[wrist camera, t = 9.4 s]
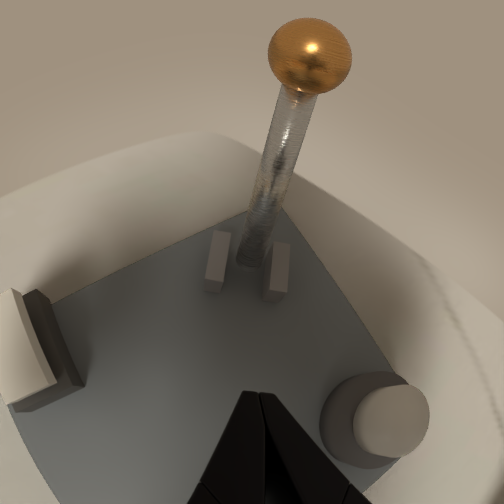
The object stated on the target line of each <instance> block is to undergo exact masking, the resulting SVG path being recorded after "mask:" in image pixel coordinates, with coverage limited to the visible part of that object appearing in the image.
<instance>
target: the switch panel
mask: <svg viewBox="0 0 504 504" xmlns="http://www.w3.org/2000/svg"><path fill="white" fill-rule="evenodd" d="M247 212H248V211H246V212H244V213H241V214H239V215H237V216H235V217H232V218H230V219H228V220H226V221H223V222H221V223H219V224H217V225H215V226H212V227H210V228H208V229H206V230H204V231H201V232H199V233H197V234H195V235H193V236H190V237H188V238H186V239H184V240H182V241H180V242H177V243H175V244H173V245H171V246H169V247H167V248H165V249H163V250H160V251H158V252H156V253H154V254H152V255H150V256H148V257H146V258H144V259H142V260H139V261H137V262H135V263H133V264H131V265H129V266H127V267H125V268H123V269H121V270H119V271H117V272H115V273H113V274H111V275H109V276H107V277H105V278H103V279H101V280H99V281H97V282H95V283H93V284H91V285H89V286H87V287H85V288H83V289H81V290H79V291H77V292H75V293H73V294H71V295H69V296H67V297H65V298H63V299H61V300H59V301H58V302H56V303H54V304H52V305H51V303H50V300H49V299H48V298H47V297H46V296H44V295H43V294H42V293H41V292H40V291H38V290H37V289H35V290H33V291H31V292H29V293H27V294H25V295H24V296H22V298H23V301H24V304H25V307H26V310H27V312H28V315H29V318H30V321H31V323H32V326H33V329H34V331H35V334H36V336H37V339H38V341H39V344H40V346H41V348H42V351H43V353H44V355H45V357H46V360H47V362H48V364H49V366H50V368H51V371H52V373H53V375H54V377H55V379H56V381H57V383H56V384H54V385H52V386H49V387H47V388H45V389H43V390H41V391H39V392H37V393H35V394H33V395H31V396H28V397H26V398H24V399H22V400H20V401H18V402H15V403H11V404H7V406H8V408H9V411H10V413H11V415H12V418H13V420H14V422H15V424H16V427H17V429H18V431H19V433H20V435H21V437H22V439H23V441H24V443H25V445H26V447H27V449H28V451H29V453H30V455H31V457H32V459H33V460H34V462H35V464H36V466H37V468H38V469H39V471H40V473H41V474H42V476H43V478H44V479H45V481H46V483H47V484H48V486H49V487H50V489H51V491H52V492H53V494H54V495H55V497H56V498H57V500H58V501H59V503H60V504H187V502H188V500H189V499H190V497H191V495H192V493H193V491H194V489H195V487H196V485H197V484H198V483H199V480H200V478H201V476H202V474H203V472H204V470H205V468H206V466H207V464H208V462H209V460H210V458H211V456H212V454H213V452H214V450H215V448H216V445H217V443H218V441H219V439H220V437H221V435H222V433H223V431H224V429H225V427H226V424H227V422H228V420H229V418H230V416H231V414H232V412H233V409H234V407H235V405H236V403H237V401H238V399H239V396H240V394H241V392H242V391H243V390H247V391H256V392H257V393H260V392H266V393H273V394H275V395H276V396H277V397H278V399H279V400H280V401H281V402H282V403H283V405H284V406H285V407H286V408H287V410H288V411H289V412H290V413H291V414H292V416H293V417H294V418H295V419H296V420H297V422H298V423H299V424H300V425H301V426H302V428H303V429H304V430H305V431H306V432H307V433H308V435H309V436H310V437H311V438H312V439H313V440H314V442H315V443H316V444H317V445H318V446H319V447H320V449H321V450H322V451H323V452H324V453H325V454H326V455H327V456H328V458H329V459H330V460H331V461H332V462H333V463H334V464H335V465H336V467H337V468H338V469H339V470H340V471H341V472H342V473H343V474H344V475H345V476H346V478H347V479H348V480H349V481H350V483H352V484H353V485H354V486H355V487H356V488H357V489H358V490H359V491H360V492H361V493H363V492H364V491H365V490H366V489H367V488H369V487H370V486H371V485H372V484H373V483H374V482H375V481H376V480H378V479H379V478H380V477H381V476H382V475H383V474H384V473H385V472H386V471H387V470H388V469H389V468H391V467H392V466H393V465H394V464H395V463H396V462H397V461H398V460H399V459H400V458H401V457H398V458H391V457H386V456H381V455H376V454H371V453H368V452H366V451H365V450H363V449H362V448H361V447H360V446H359V445H358V443H357V441H356V439H355V437H354V432H353V420H354V415H355V412H356V410H357V407H358V405H359V404H360V402H361V401H362V400H363V398H364V397H365V396H366V395H368V394H369V393H370V392H372V391H373V390H375V389H378V388H382V387H389V386H397V385H409V384H408V383H407V382H406V381H405V380H404V379H403V378H402V377H400V376H398V375H397V374H395V372H394V371H393V369H392V368H391V366H390V364H389V363H388V361H387V360H386V358H385V356H384V355H383V353H382V352H381V350H380V349H379V347H378V346H377V344H376V342H375V341H374V339H373V338H372V336H371V335H370V333H369V332H368V330H367V329H366V327H365V326H364V324H363V323H362V321H361V320H360V318H359V317H358V315H357V314H356V312H355V311H354V309H353V308H352V306H351V305H350V303H349V302H348V300H347V299H346V297H345V296H344V294H343V293H342V291H341V290H340V288H339V287H338V285H337V284H336V283H335V281H334V280H333V278H332V277H331V275H330V274H329V272H328V271H327V270H326V268H325V267H324V265H323V264H322V262H321V261H320V260H319V258H318V257H317V255H316V254H315V253H314V251H313V250H312V248H311V247H310V246H309V244H308V243H307V241H306V240H305V239H304V237H303V236H302V234H301V233H300V232H299V230H298V229H297V227H296V226H295V225H294V223H293V222H292V221H291V219H290V218H289V217H288V215H287V214H286V212H285V211H284V210H283V208H282V207H281V208H280V211H279V214H278V217H277V220H276V223H275V226H274V229H273V232H272V235H271V238H270V241H269V244H268V247H267V250H266V253H265V255H264V258H263V261H262V264H261V266H260V267H259V268H258V269H257V270H255V271H253V272H246V271H243V270H242V269H240V268H239V266H238V265H237V262H236V255H237V251H238V247H239V243H240V239H241V235H242V232H243V228H244V224H245V220H246V216H247Z"/></svg>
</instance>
